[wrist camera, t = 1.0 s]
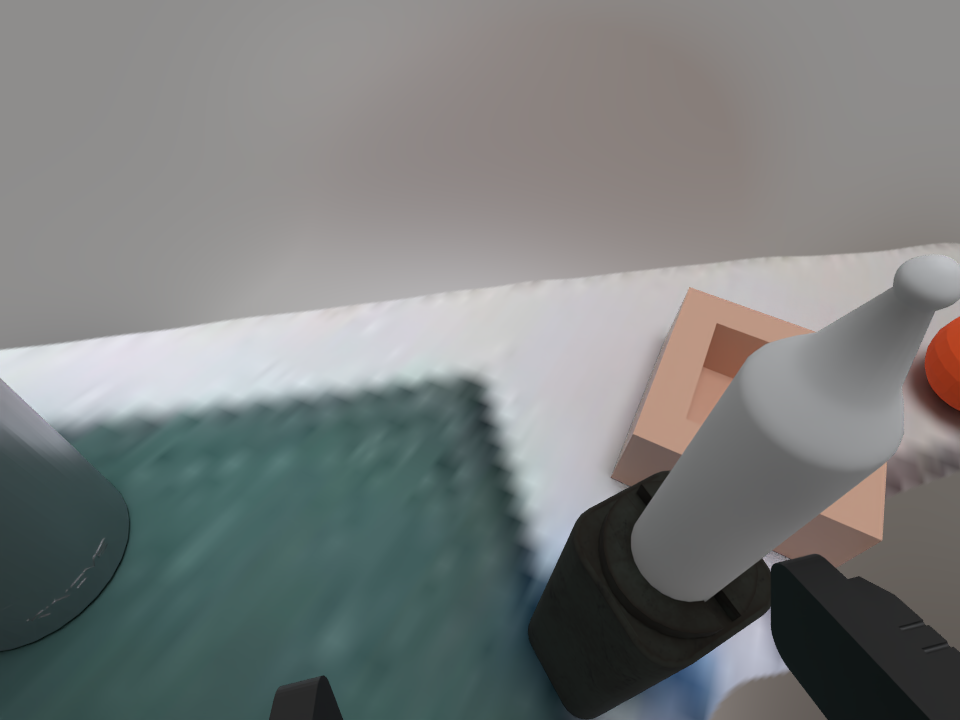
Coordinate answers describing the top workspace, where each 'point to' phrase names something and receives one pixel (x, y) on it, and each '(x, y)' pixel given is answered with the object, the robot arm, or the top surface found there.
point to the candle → (732, 499)
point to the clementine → (945, 364)
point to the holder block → (694, 393)
